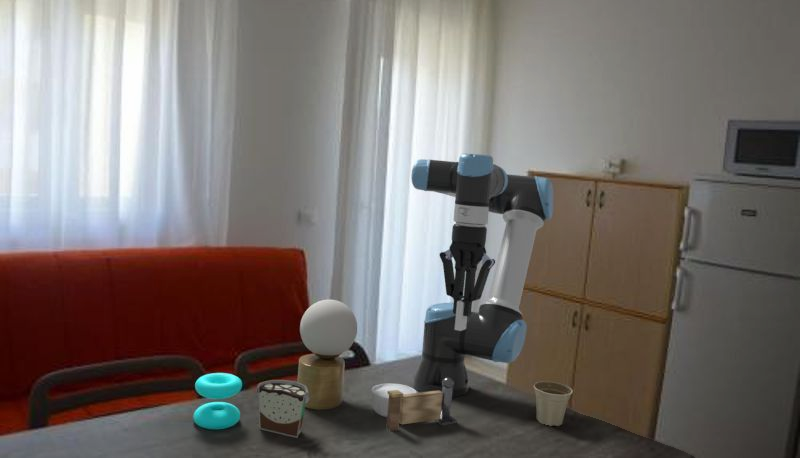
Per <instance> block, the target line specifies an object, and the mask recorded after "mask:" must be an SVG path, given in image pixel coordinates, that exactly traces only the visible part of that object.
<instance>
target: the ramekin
mask: <svg viewBox="0 0 800 458" xmlns="http://www.w3.org/2000/svg"><path fill="white" fill-rule="evenodd" d="M390 390H399V391H400V392H402V393H403V394H411V393H418V391H417V389H416V388H413V387H410V386H409V385H405V384H401V383H380V384H376V385H374V386H372V388H371V400H372V409H373V410H374V412H375V413H376V414H377V415H380V416H381V417H385V418H387V414H388V402H389V394H388V393H387V392H388V391H390Z"/></svg>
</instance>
